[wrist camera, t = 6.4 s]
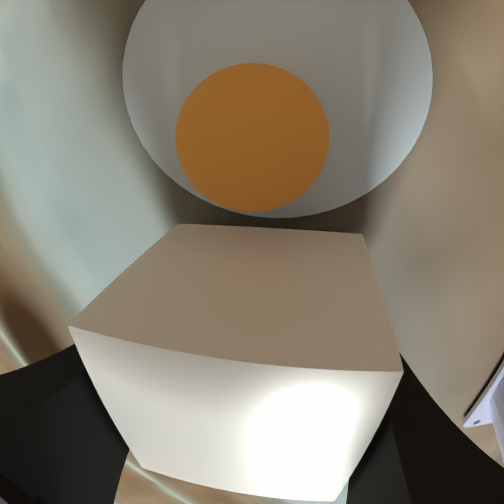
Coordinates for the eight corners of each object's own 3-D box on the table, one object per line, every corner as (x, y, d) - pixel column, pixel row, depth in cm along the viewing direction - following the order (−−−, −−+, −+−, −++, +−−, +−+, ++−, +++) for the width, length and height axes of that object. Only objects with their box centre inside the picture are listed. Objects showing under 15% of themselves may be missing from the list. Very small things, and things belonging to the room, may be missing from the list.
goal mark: (416, -50, 5) (418, -52, 5) (417, 226, 9) (418, 228, 9) (128, -36, 7) (126, -37, 6) (137, 211, 11) (135, 213, 11)
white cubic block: (362, 233, 9) (404, 372, 4) (337, 372, 11) (333, 501, 6) (178, 223, 10) (67, 325, 5) (196, 356, 12) (142, 467, 7)
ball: (333, 242, 6) (328, 178, 10) (327, 54, 4) (322, 59, 7) (168, 242, 7) (214, 182, 10) (131, 83, 5) (196, 72, 8)
